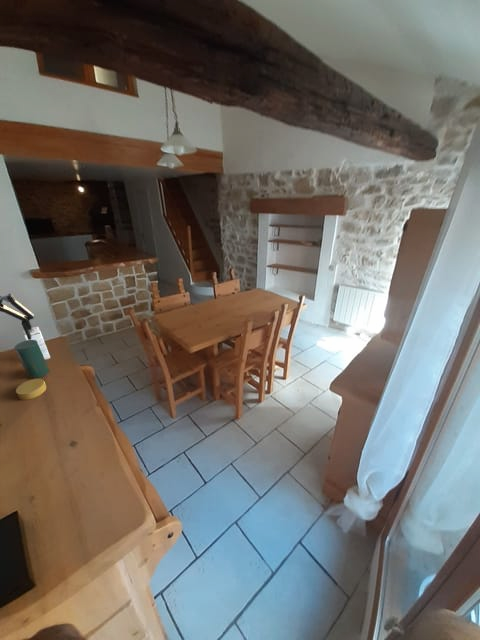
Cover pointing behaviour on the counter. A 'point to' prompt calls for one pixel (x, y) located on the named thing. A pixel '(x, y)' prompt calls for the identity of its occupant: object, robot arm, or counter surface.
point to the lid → (31, 389)
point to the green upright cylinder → (32, 359)
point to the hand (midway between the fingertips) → (4, 343)
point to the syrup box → (38, 340)
